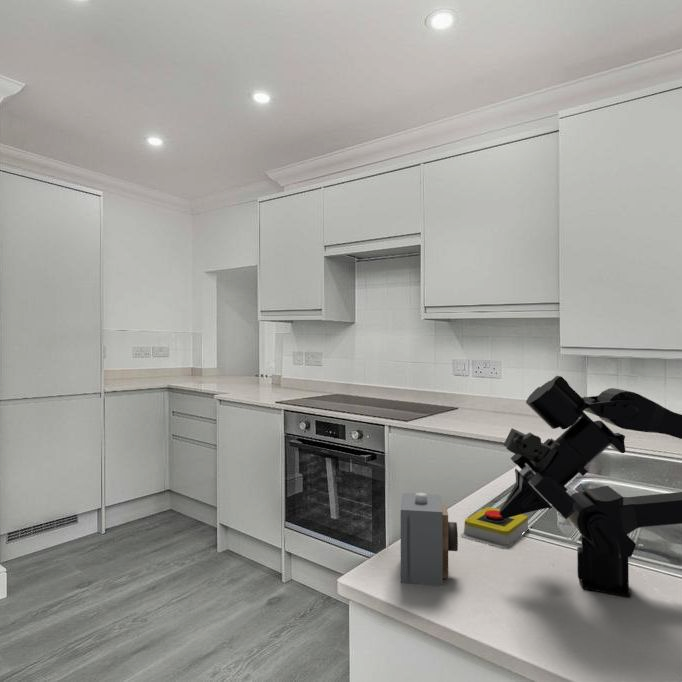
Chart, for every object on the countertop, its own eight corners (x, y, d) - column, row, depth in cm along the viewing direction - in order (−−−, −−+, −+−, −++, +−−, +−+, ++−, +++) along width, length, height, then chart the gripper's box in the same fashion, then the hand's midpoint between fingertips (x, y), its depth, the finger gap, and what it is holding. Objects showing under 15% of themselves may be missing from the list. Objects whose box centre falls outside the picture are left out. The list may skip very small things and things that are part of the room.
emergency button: (458, 516, 94) (490, 498, 105) (458, 538, 94) (490, 518, 105) (504, 528, 88) (533, 507, 99) (504, 552, 88) (533, 528, 99)
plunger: (455, 564, 81) (455, 505, 81) (458, 578, 76) (457, 515, 76) (416, 561, 82) (416, 503, 82) (416, 575, 77) (416, 513, 77)
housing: (440, 560, 83) (439, 487, 83) (442, 585, 75) (442, 504, 75) (402, 557, 84) (402, 486, 84) (400, 582, 76) (400, 502, 76)
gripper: (523, 405, 86) (460, 464, 88) (552, 422, 68) (471, 496, 69) (569, 451, 85) (504, 510, 86) (612, 481, 66) (528, 555, 68)
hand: (501, 515), depth 78 cm, fingers closed
